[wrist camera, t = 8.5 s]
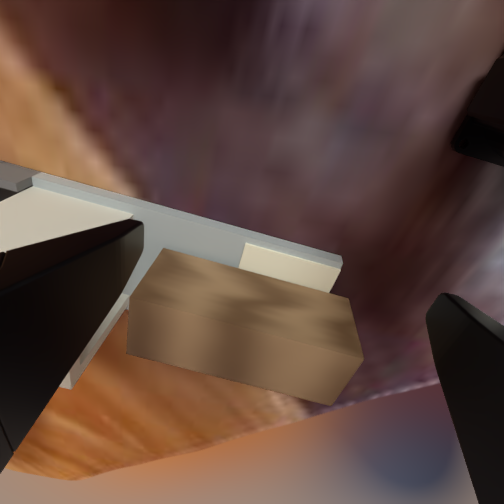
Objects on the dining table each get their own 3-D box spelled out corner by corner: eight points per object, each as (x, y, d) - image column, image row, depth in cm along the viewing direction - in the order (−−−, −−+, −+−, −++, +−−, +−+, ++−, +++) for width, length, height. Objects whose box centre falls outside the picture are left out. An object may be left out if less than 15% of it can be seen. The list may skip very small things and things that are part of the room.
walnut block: (348, 298, 23) (364, 359, 18) (323, 342, 25) (331, 406, 21) (163, 247, 22) (129, 297, 17) (157, 298, 25) (126, 353, 20)
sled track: (341, 255, 22) (368, 354, 15) (296, 345, 28) (299, 452, 20) (-25, 153, 21) (-202, 203, 14) (1, 267, 26) (-116, 349, 19)
